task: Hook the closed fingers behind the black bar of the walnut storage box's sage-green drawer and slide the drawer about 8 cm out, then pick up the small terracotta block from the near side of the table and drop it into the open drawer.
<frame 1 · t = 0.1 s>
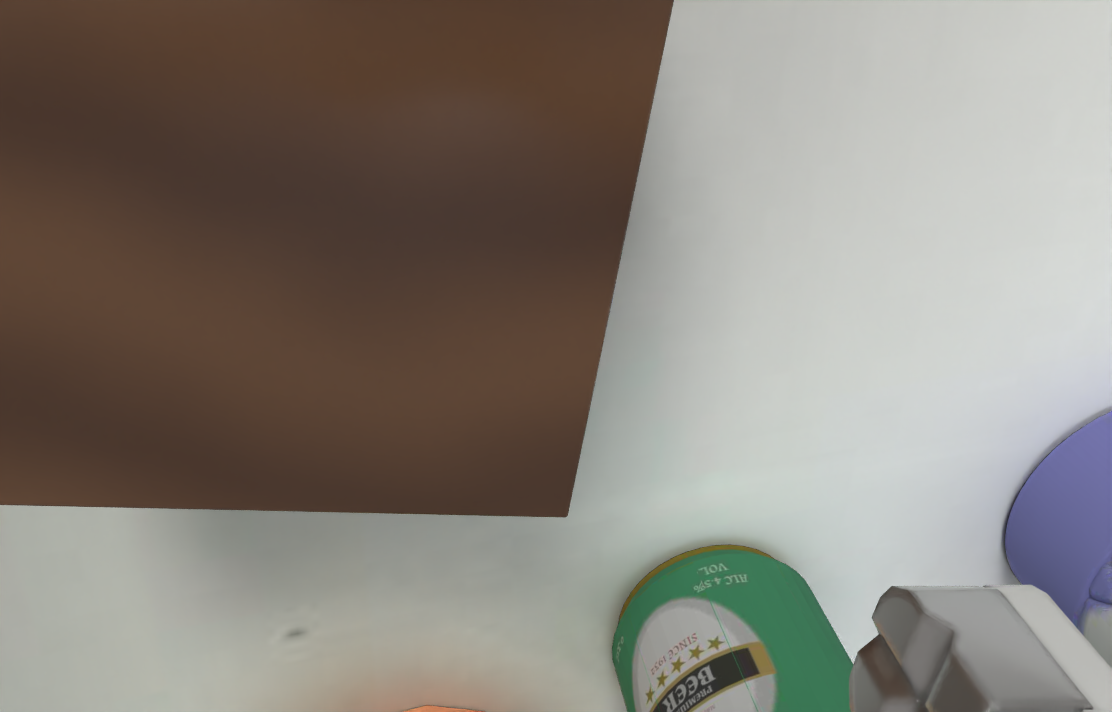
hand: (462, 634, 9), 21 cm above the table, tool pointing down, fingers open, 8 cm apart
beverage can: (705, 613, 40), on the table
cabinet: (306, 38, 27), on the table
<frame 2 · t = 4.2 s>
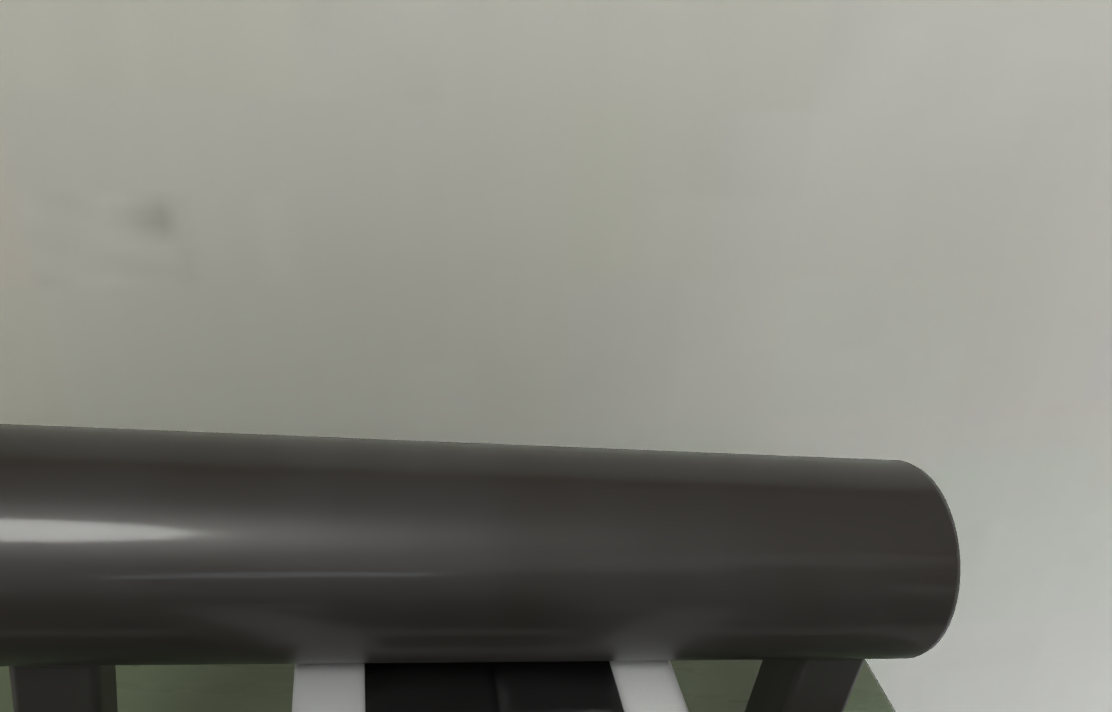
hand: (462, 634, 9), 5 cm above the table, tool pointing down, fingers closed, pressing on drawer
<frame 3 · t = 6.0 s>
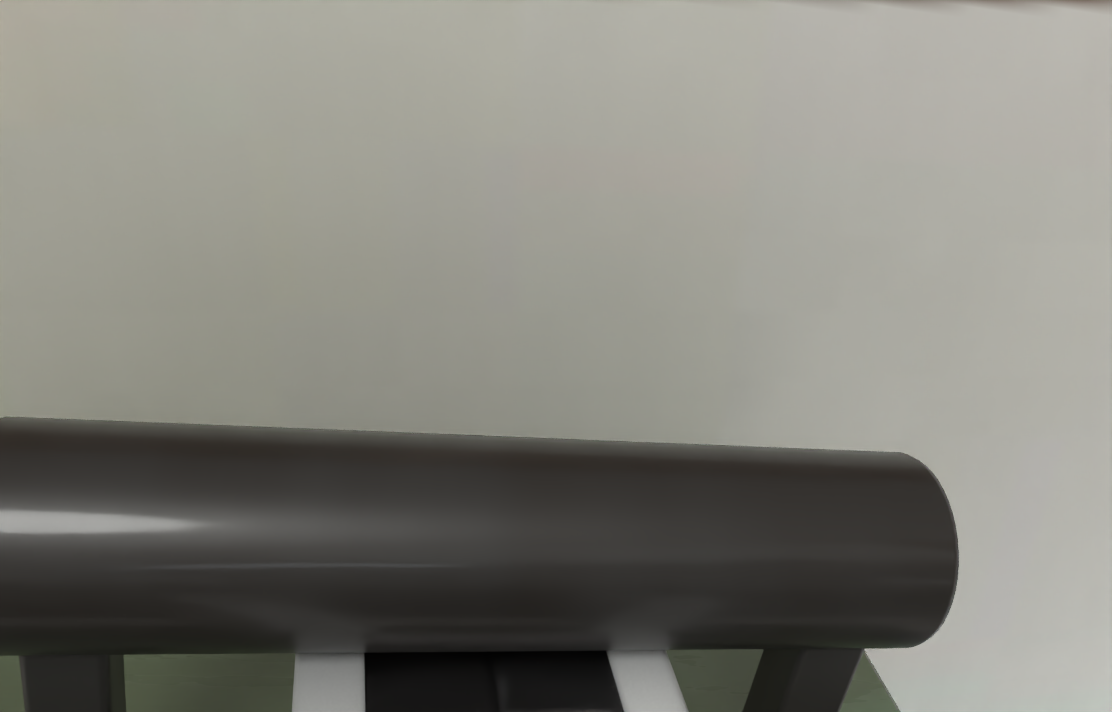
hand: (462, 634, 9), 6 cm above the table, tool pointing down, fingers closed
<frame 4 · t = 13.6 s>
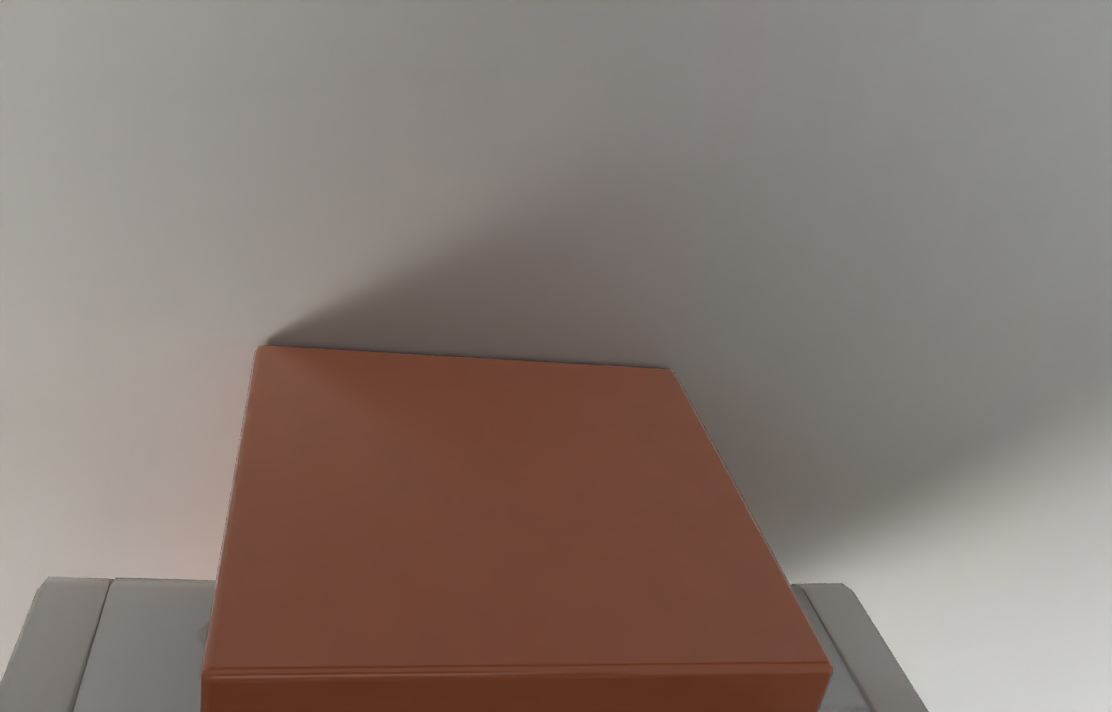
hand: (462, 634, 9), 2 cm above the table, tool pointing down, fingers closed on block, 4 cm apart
block: (451, 523, 11), on the table, touching gripper
when the fingers open (11 cm above the table, at t = 22.1 s): block drops 7 cm, resting on drawer.
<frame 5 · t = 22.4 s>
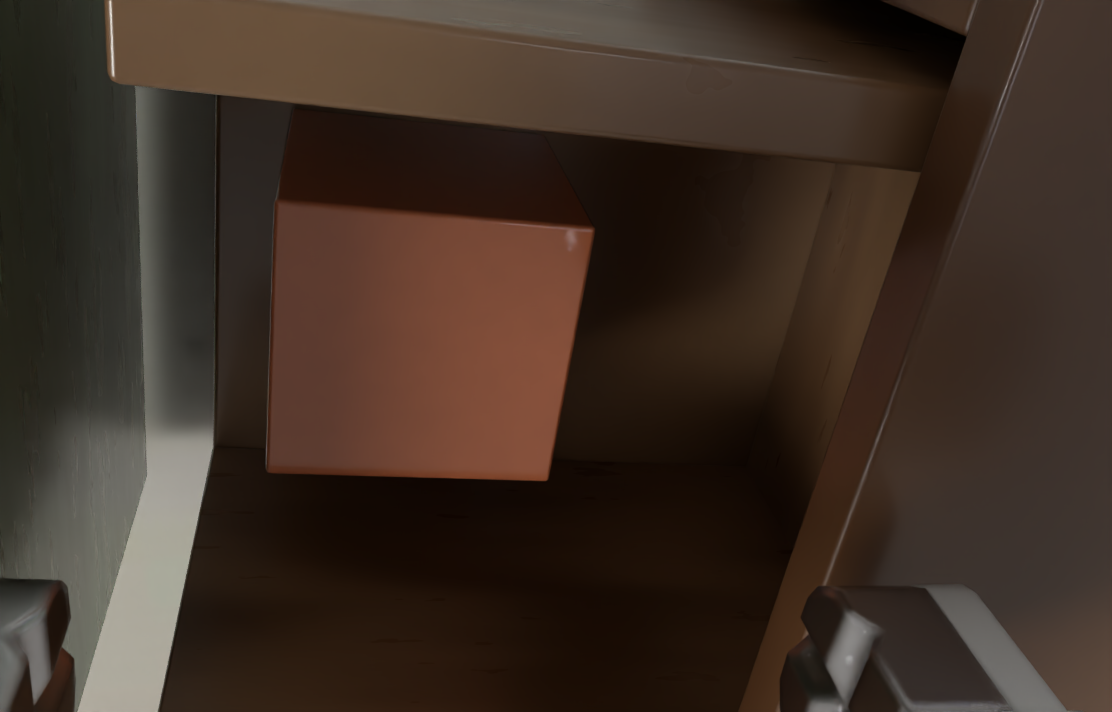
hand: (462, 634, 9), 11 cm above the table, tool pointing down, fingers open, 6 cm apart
drawer: (336, 330, 14), point 5 cm above the table, slide at 8.2 cm, touching block
cabinet: (940, 249, 21), on the table
block: (410, 239, 17), point 2 cm above the table, touching drawer
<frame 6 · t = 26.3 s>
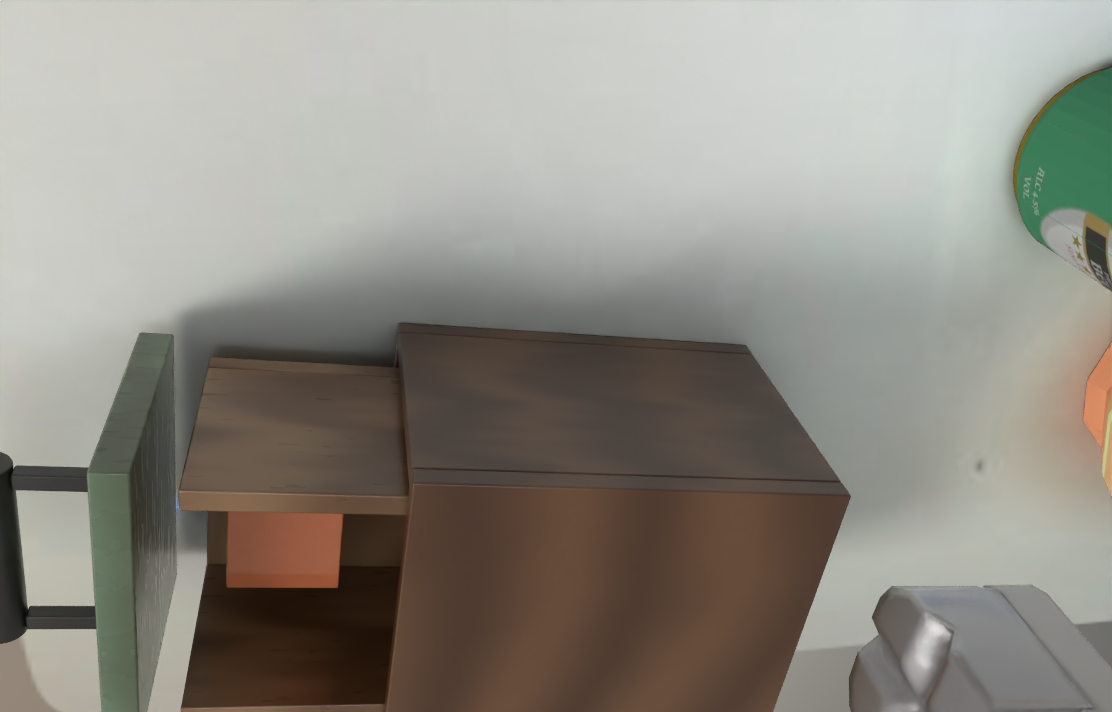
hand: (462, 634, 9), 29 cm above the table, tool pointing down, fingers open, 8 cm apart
drawer: (252, 534, 37), point 5 cm above the table, slide at 8.2 cm, touching block
beverage can: (1091, 153, 42), on the table
cabinet: (554, 462, 45), on the table
block: (290, 480, 40), point 2 cm above the table, touching drawer
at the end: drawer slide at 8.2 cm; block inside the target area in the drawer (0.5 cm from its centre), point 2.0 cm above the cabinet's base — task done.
